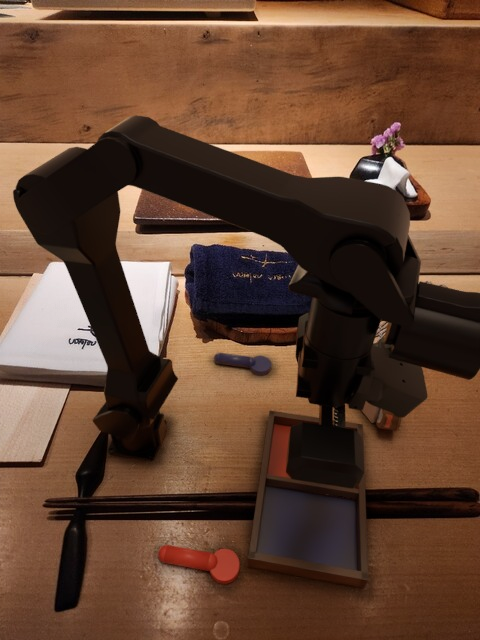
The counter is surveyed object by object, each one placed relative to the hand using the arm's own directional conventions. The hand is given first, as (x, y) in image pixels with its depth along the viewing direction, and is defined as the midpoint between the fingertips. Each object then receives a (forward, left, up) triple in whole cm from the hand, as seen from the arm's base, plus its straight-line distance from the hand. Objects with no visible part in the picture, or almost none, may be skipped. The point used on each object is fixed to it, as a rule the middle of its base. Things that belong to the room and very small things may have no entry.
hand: (312, 437), depth 50 cm
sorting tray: (+1, 0, -13) cm, 13 cm away
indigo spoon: (-11, +20, -13) cm, 26 cm away
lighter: (+9, +15, -14) cm, 22 cm away
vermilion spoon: (-11, -10, -13) cm, 20 cm away
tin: (+11, +17, -13) cm, 24 cm away
